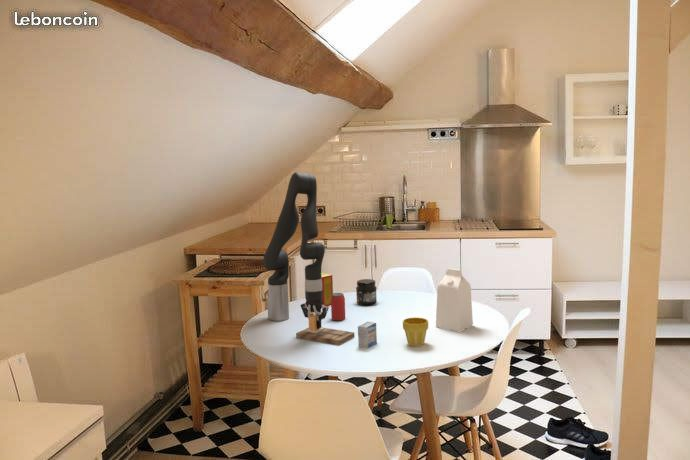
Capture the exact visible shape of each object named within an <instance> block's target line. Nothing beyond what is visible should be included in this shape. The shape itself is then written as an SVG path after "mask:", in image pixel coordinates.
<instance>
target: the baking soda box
mask: <svg viewBox="0 0 690 460" xmlns="http://www.w3.org/2000/svg"><path fill="white" fill-rule="evenodd" d="M321 277H322V289H323V299H322V302H323V305H324V306H326V307H327V306H328V307H329V306H330V305H331V297H332V294H334V288H333V287H334V286H333V282H334V281H333V274H329V273H326V272H321ZM330 307H331V306H330Z"/></svg>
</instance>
